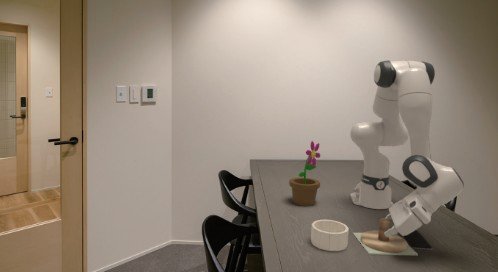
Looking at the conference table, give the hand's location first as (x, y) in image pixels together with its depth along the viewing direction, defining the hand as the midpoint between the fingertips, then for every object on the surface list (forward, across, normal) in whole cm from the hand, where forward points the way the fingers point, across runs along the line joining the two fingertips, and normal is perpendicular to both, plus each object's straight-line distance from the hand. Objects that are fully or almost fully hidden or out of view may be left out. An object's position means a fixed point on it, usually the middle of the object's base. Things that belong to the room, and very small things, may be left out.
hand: (383, 229), depth 116 cm
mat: (+4, 0, +4) cm, 5 cm away
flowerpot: (+26, -35, -18) cm, 48 cm away
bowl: (+16, +6, -9) cm, 19 cm away
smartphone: (-4, -8, +12) cm, 15 cm away
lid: (+3, 0, +4) cm, 5 cm away
